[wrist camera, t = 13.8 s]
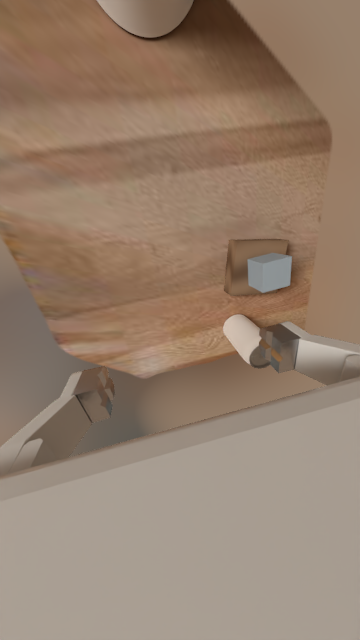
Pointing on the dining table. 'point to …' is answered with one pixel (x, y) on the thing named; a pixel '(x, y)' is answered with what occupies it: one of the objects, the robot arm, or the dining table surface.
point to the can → (245, 339)
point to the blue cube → (269, 272)
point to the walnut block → (239, 262)
